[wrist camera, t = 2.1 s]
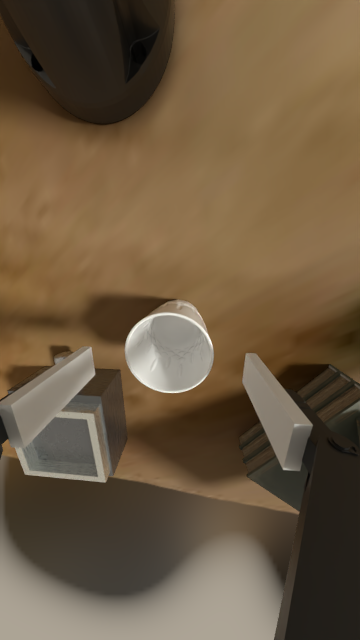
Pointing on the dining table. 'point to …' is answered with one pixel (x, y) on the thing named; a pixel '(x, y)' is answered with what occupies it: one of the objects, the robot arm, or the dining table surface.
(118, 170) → the dining table surface
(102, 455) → the grey open box
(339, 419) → the book stack
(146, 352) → the white cup
